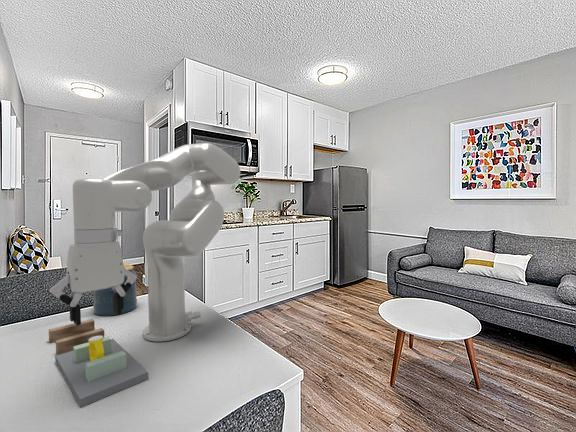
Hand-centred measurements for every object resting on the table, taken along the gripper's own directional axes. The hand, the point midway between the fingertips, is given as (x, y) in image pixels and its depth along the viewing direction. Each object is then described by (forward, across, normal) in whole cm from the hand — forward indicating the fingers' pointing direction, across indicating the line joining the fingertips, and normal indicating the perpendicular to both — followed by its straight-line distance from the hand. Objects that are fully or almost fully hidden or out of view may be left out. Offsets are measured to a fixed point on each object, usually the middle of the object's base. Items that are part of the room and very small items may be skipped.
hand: (98, 317), depth 66 cm
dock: (+12, 0, 0) cm, 12 cm away
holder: (+12, 0, -20) cm, 23 cm away
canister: (+12, -15, -38) cm, 43 cm away
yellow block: (+10, 0, 0) cm, 10 cm away
